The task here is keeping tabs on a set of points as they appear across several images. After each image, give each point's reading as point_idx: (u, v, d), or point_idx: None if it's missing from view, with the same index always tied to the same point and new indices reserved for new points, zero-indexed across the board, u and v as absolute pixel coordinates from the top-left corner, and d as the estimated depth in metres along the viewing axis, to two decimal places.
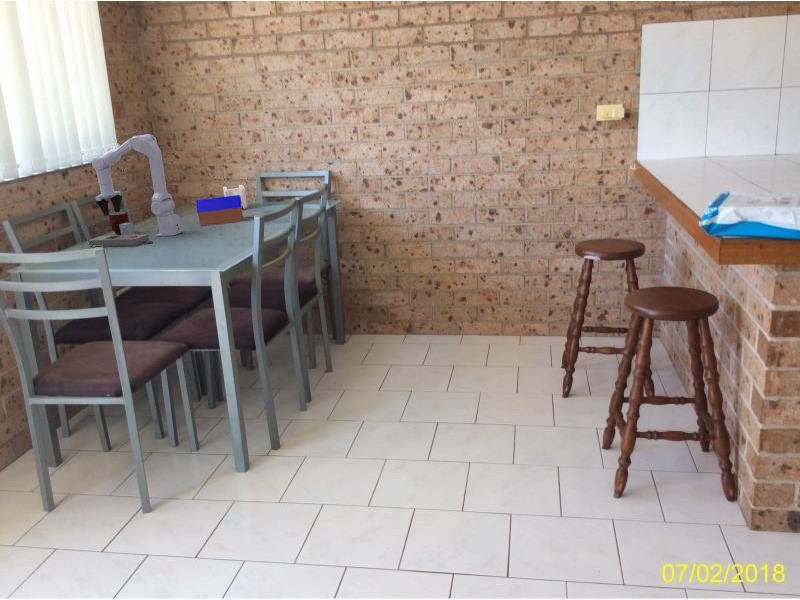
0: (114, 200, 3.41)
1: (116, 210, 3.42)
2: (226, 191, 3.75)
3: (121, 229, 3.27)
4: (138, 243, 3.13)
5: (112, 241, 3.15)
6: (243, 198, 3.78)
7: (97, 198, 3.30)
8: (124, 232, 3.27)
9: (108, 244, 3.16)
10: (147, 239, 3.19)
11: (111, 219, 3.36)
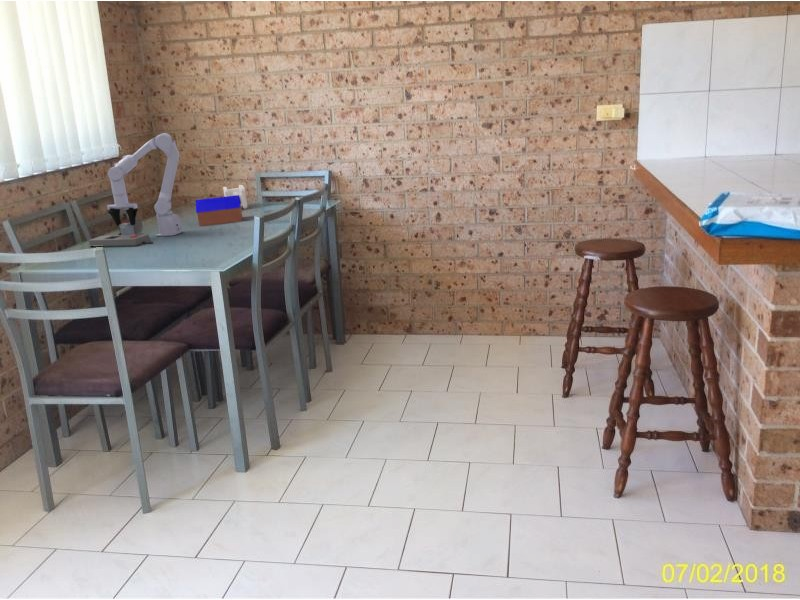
0: None
1: None
2: (226, 191, 3.75)
3: (121, 229, 3.27)
4: (138, 243, 3.13)
5: (112, 241, 3.15)
6: (243, 198, 3.78)
7: None
8: (124, 232, 3.27)
9: (108, 244, 3.16)
10: (147, 239, 3.19)
11: None
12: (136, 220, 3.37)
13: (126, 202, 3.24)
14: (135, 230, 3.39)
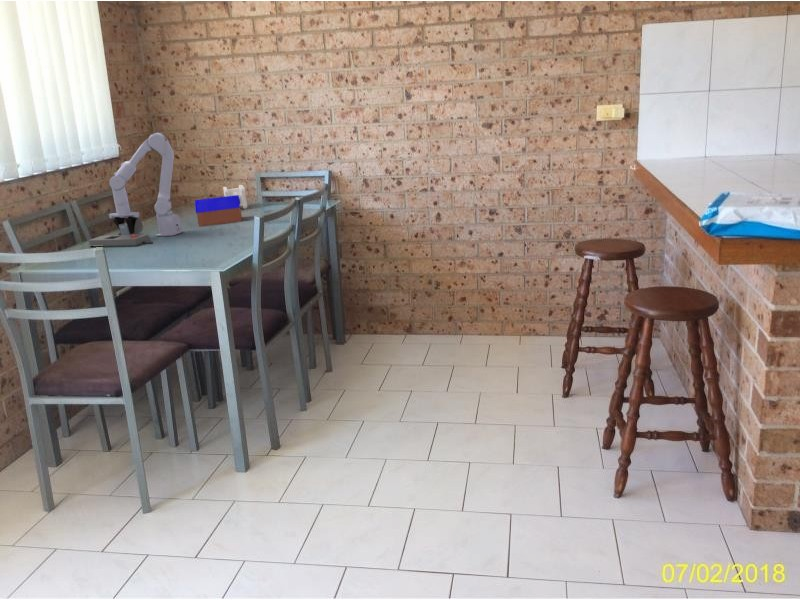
0: None
1: None
2: (226, 191, 3.75)
3: (121, 229, 3.27)
4: (138, 243, 3.13)
5: (112, 241, 3.15)
6: (243, 198, 3.78)
7: None
8: (123, 232, 3.27)
9: (108, 244, 3.16)
10: (147, 239, 3.19)
11: None
12: (136, 220, 3.37)
13: (128, 211, 3.25)
14: (135, 230, 3.39)
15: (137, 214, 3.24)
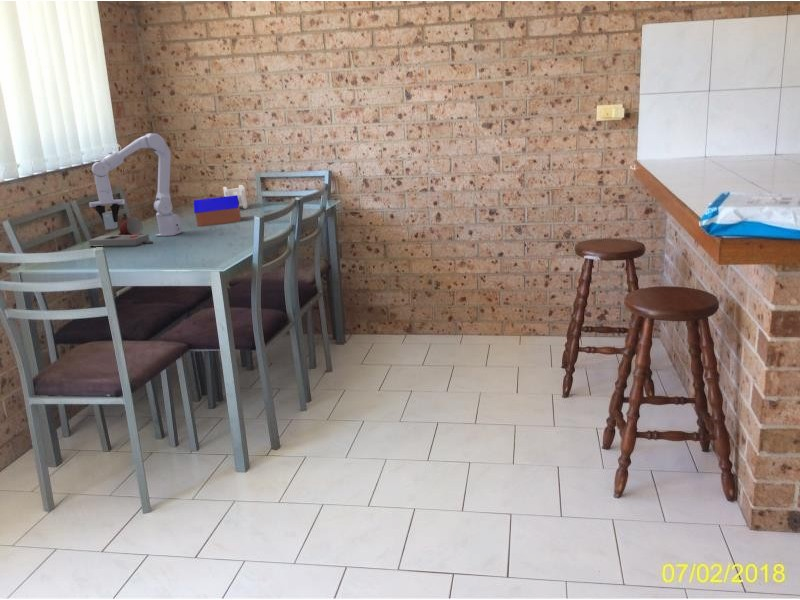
0: None
1: None
2: (226, 191, 3.75)
3: (104, 218, 3.17)
4: (138, 243, 3.13)
5: (112, 241, 3.15)
6: (243, 198, 3.78)
7: None
8: (108, 220, 3.17)
9: (108, 244, 3.16)
10: (147, 239, 3.19)
11: (124, 229, 3.32)
12: (136, 220, 3.37)
13: (112, 198, 3.16)
14: (135, 230, 3.39)
15: (123, 201, 3.16)
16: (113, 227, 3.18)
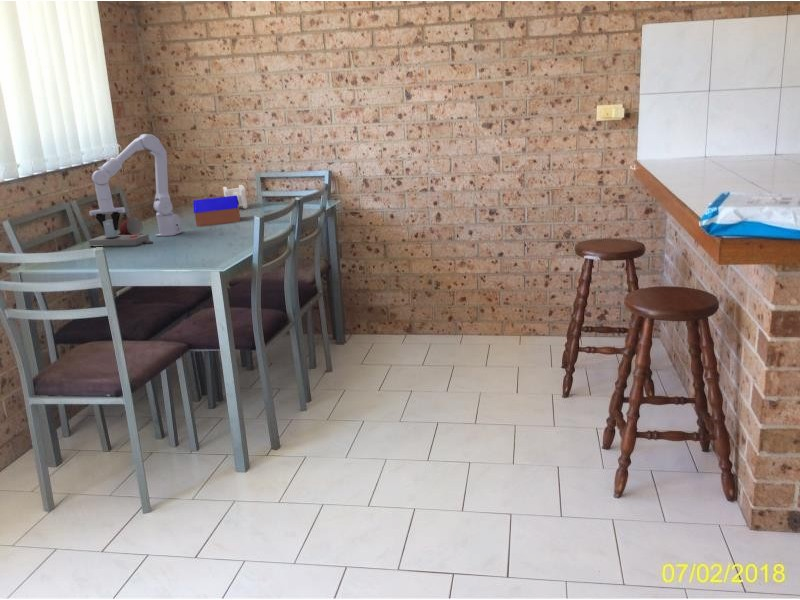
0: None
1: None
2: (226, 191, 3.75)
3: (105, 226, 3.17)
4: (138, 243, 3.13)
5: (112, 241, 3.15)
6: (243, 198, 3.78)
7: None
8: (108, 229, 3.17)
9: (108, 244, 3.16)
10: (147, 239, 3.19)
11: (124, 229, 3.32)
12: (136, 220, 3.37)
13: (112, 206, 3.16)
14: (135, 230, 3.39)
15: (124, 209, 3.17)
16: (114, 235, 3.18)
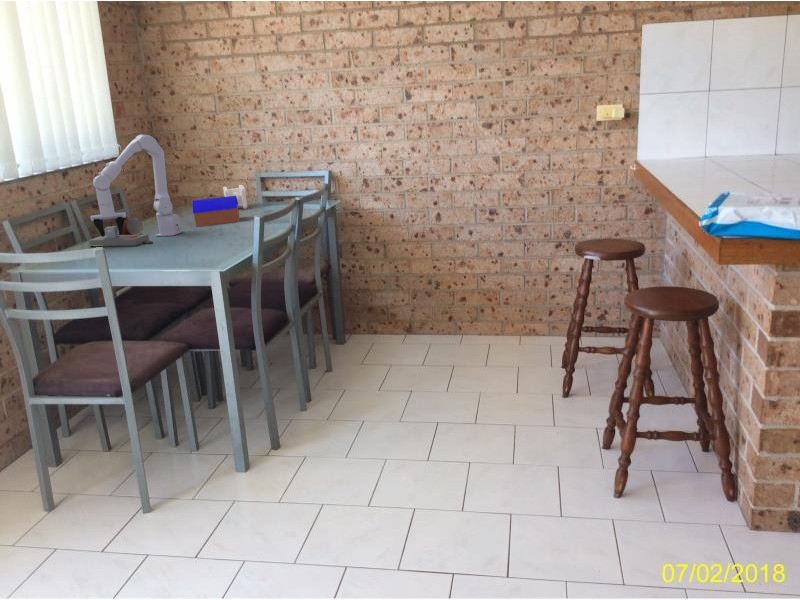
0: None
1: None
2: (226, 191, 3.75)
3: (107, 233, 3.18)
4: (138, 243, 3.13)
5: (112, 241, 3.15)
6: (243, 198, 3.78)
7: None
8: (110, 236, 3.18)
9: (108, 244, 3.16)
10: (147, 239, 3.19)
11: (124, 229, 3.32)
12: (136, 220, 3.37)
13: (113, 211, 3.17)
14: (135, 230, 3.39)
15: (125, 214, 3.17)
16: None
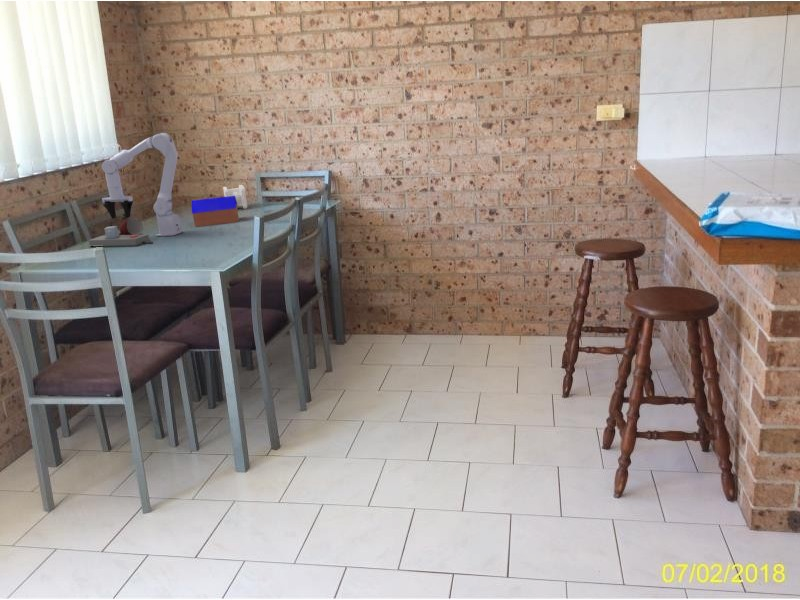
0: None
1: None
2: (226, 191, 3.75)
3: (107, 233, 3.18)
4: (138, 243, 3.13)
5: (112, 241, 3.15)
6: (243, 198, 3.78)
7: None
8: (110, 236, 3.18)
9: (108, 244, 3.16)
10: (147, 239, 3.19)
11: (124, 229, 3.32)
12: (136, 220, 3.37)
13: (121, 195, 3.25)
14: (135, 230, 3.39)
15: (130, 198, 3.24)
16: None
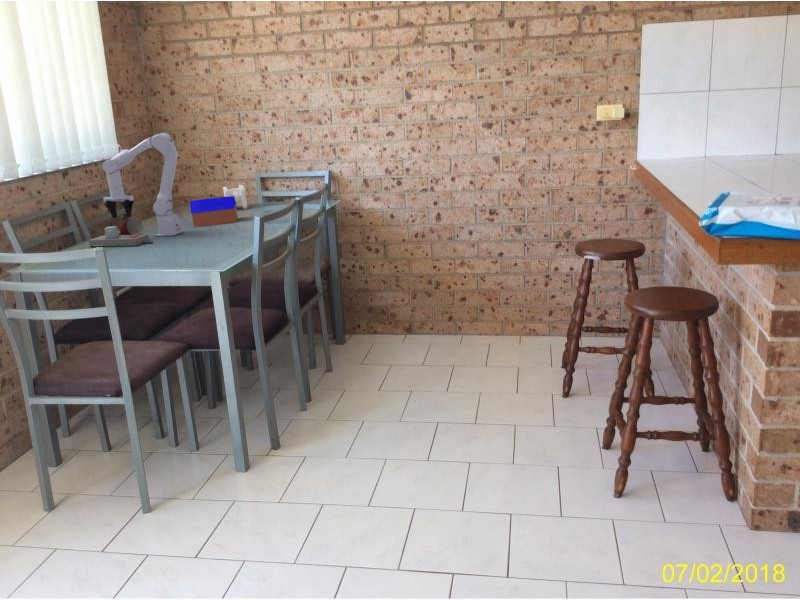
0: None
1: None
2: (226, 191, 3.75)
3: (107, 233, 3.18)
4: (138, 243, 3.13)
5: (112, 241, 3.15)
6: (243, 198, 3.78)
7: None
8: (110, 236, 3.18)
9: (108, 244, 3.16)
10: (147, 239, 3.19)
11: (124, 229, 3.32)
12: (136, 220, 3.37)
13: (122, 194, 3.26)
14: (135, 230, 3.39)
15: (131, 198, 3.25)
16: None
